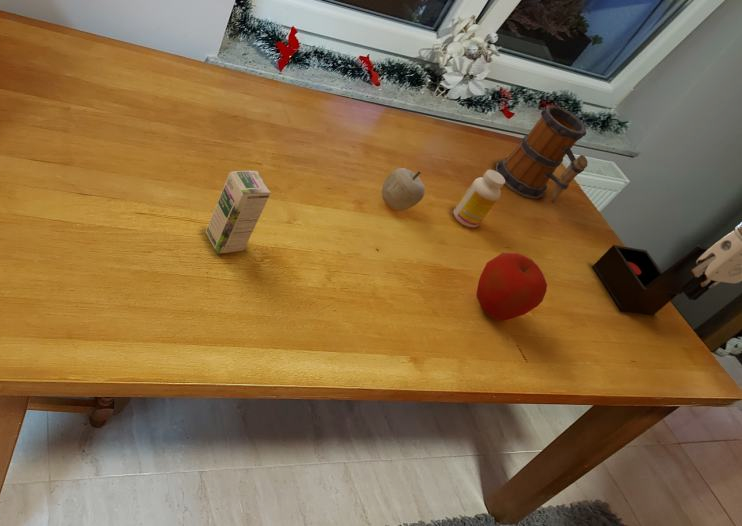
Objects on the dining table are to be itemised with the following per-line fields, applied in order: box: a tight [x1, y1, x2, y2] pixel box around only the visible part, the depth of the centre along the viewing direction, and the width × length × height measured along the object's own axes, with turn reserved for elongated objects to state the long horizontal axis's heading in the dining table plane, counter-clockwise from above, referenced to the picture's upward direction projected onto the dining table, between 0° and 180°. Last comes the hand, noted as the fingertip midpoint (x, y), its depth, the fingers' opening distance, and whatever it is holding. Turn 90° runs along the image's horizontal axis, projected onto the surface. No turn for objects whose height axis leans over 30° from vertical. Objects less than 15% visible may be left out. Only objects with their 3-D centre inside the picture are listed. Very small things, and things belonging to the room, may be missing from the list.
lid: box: [645, 244, 711, 295], centre depth 145 cm, size 15×11×1 cm
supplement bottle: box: [453, 169, 505, 228], centre depth 153 cm, size 7×7×13 cm
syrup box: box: [205, 170, 272, 255], centre depth 118 cm, size 6×6×14 cm
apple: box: [476, 252, 548, 322], centre depth 132 cm, size 12×12×14 cm
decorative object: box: [381, 167, 426, 211], centre depth 147 cm, size 9×9×10 cm
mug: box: [494, 104, 588, 204], centre depth 172 cm, size 19×14×20 cm
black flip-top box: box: [591, 244, 679, 316], centre depth 158 cm, size 14×11×8 cm
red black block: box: [628, 262, 641, 277], centre depth 159 cm, size 4×4×5 cm
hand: (688, 294), depth 145 cm, fingers closed
